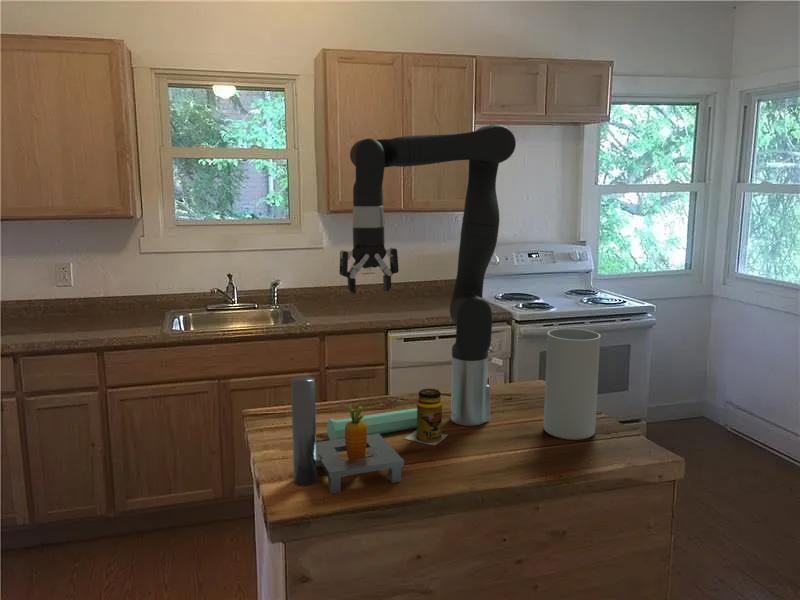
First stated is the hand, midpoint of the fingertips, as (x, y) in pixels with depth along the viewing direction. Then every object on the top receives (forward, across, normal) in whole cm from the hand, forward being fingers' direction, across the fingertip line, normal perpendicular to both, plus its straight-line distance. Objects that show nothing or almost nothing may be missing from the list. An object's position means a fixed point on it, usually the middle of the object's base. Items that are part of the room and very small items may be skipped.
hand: (369, 292), depth 161 cm
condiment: (+36, -10, +10) cm, 38 cm away
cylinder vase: (+36, -45, +19) cm, 61 cm away
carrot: (+35, +12, +22) cm, 43 cm away
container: (+36, -1, +3) cm, 36 cm away
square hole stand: (+35, +14, +22) cm, 44 cm away
